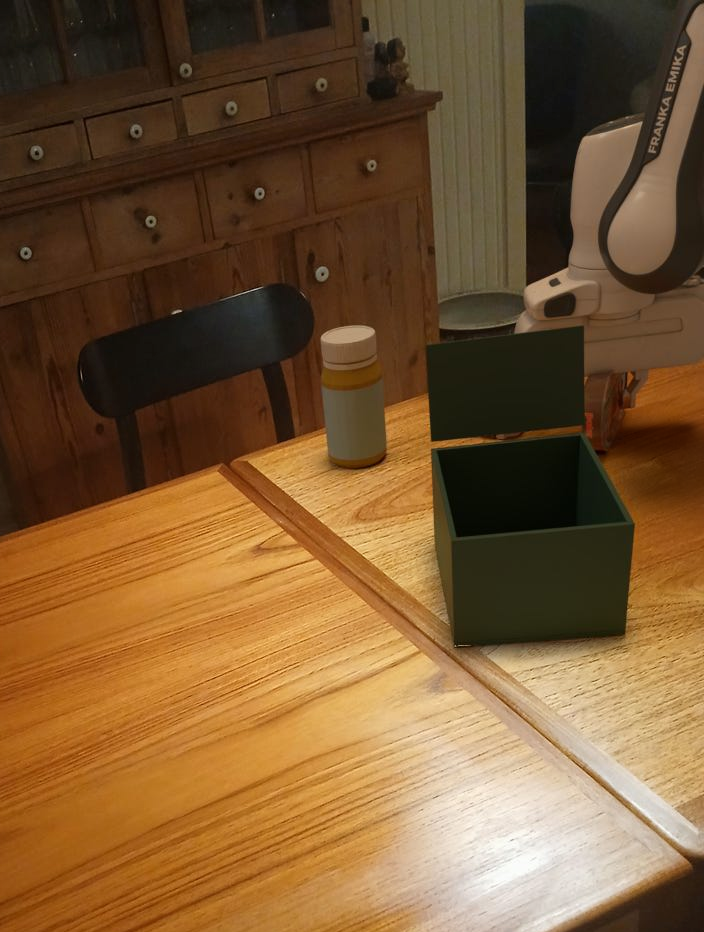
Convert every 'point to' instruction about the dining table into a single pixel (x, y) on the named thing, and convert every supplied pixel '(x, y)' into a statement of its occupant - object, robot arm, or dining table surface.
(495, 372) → the flap
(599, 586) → the green hinged-lid box
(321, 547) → the dining table surface
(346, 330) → the bottle
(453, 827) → the dining table surface
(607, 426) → the tin
